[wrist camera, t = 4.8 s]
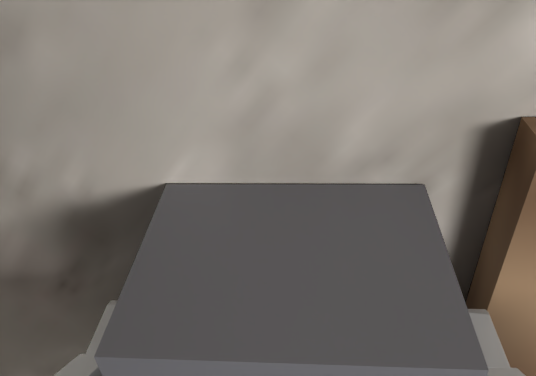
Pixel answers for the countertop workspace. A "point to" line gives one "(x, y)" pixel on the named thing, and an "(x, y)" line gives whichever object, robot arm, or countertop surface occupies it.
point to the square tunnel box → (291, 286)
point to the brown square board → (512, 256)
